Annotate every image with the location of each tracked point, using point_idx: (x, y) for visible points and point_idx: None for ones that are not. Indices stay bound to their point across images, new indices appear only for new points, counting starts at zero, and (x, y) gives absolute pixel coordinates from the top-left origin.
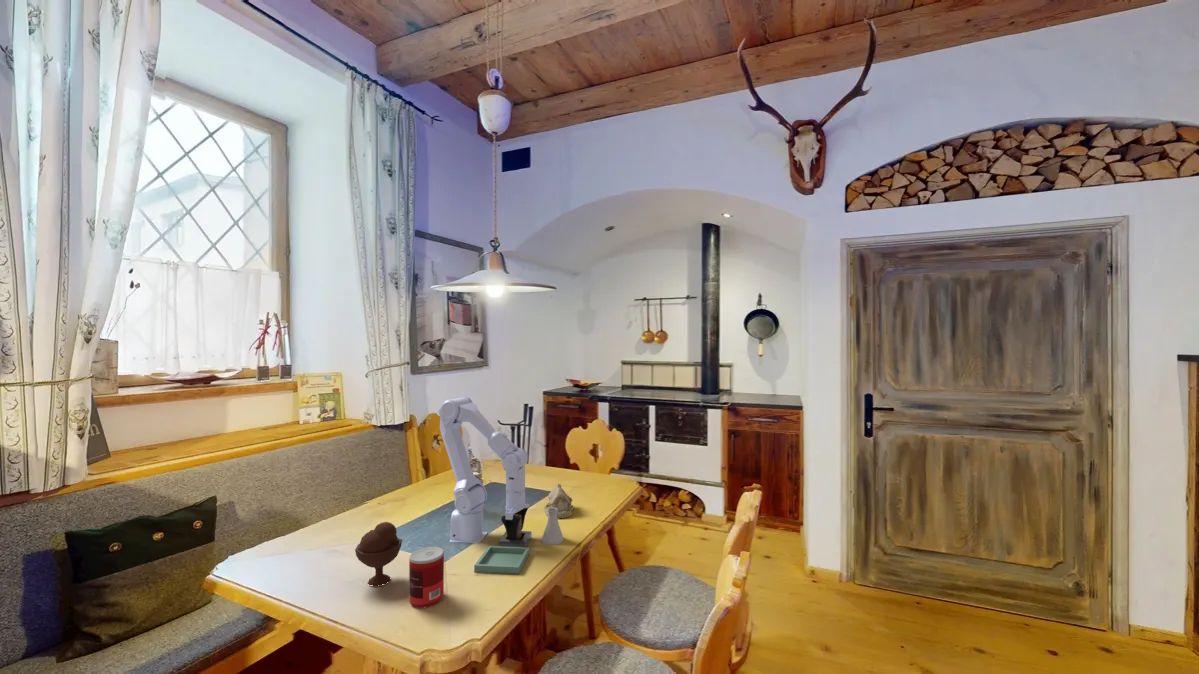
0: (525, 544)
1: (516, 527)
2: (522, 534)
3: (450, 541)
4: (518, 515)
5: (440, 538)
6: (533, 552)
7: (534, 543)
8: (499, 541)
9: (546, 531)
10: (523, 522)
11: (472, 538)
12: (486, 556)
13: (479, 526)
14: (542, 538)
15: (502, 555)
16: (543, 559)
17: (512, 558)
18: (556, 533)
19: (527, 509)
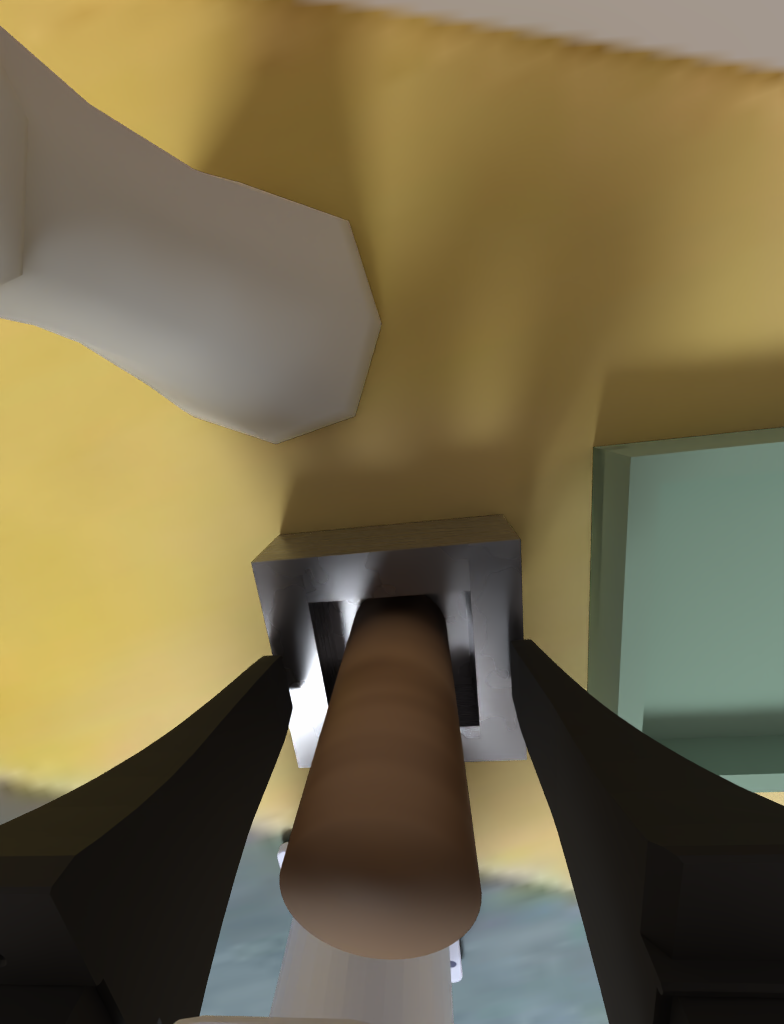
0: (502, 531)
1: (653, 742)
2: (316, 623)
3: (461, 975)
4: (328, 867)
5: None
6: (523, 434)
7: (345, 485)
8: (525, 752)
9: (295, 362)
10: (234, 697)
11: None
12: (733, 749)
13: (389, 984)
14: (300, 423)
15: (668, 649)
16: (665, 284)
17: (729, 557)
18: (288, 207)
19: (34, 816)
